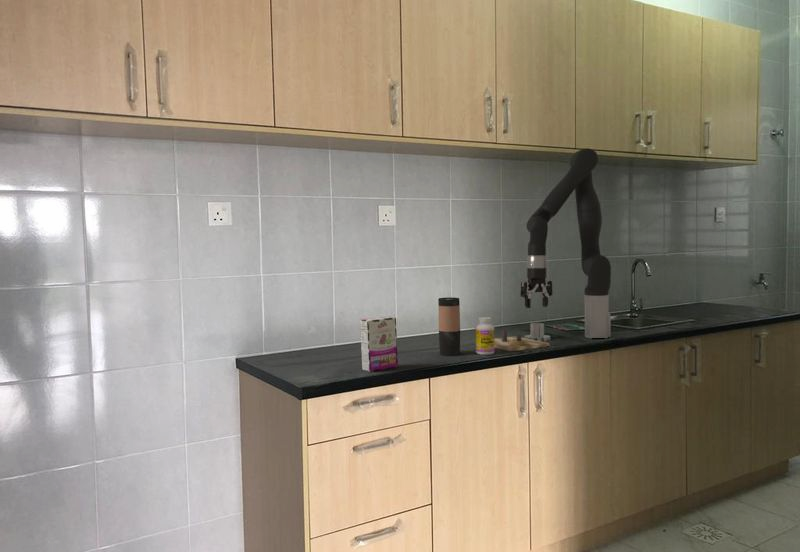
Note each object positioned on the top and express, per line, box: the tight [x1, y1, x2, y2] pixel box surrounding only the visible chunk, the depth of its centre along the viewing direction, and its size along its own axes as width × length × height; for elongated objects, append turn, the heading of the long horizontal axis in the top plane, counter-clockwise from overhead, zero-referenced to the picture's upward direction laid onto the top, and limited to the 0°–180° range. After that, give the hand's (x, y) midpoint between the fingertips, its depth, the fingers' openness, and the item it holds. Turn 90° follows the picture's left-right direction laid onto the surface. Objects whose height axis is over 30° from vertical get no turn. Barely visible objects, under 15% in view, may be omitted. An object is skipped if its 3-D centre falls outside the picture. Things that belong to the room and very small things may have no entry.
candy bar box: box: [359, 315, 399, 373], centre depth 205 cm, size 11×5×16 cm, turn 126°
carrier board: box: [494, 329, 550, 352], centre depth 244 cm, size 18×21×6 cm
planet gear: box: [523, 322, 551, 342], centre depth 256 cm, size 10×10×6 cm
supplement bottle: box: [474, 316, 495, 356], centre depth 227 cm, size 7×7×13 cm
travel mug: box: [437, 296, 461, 357], centre depth 227 cm, size 8×8×20 cm
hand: (536, 307), depth 255 cm, fingers open, 8 cm apart
